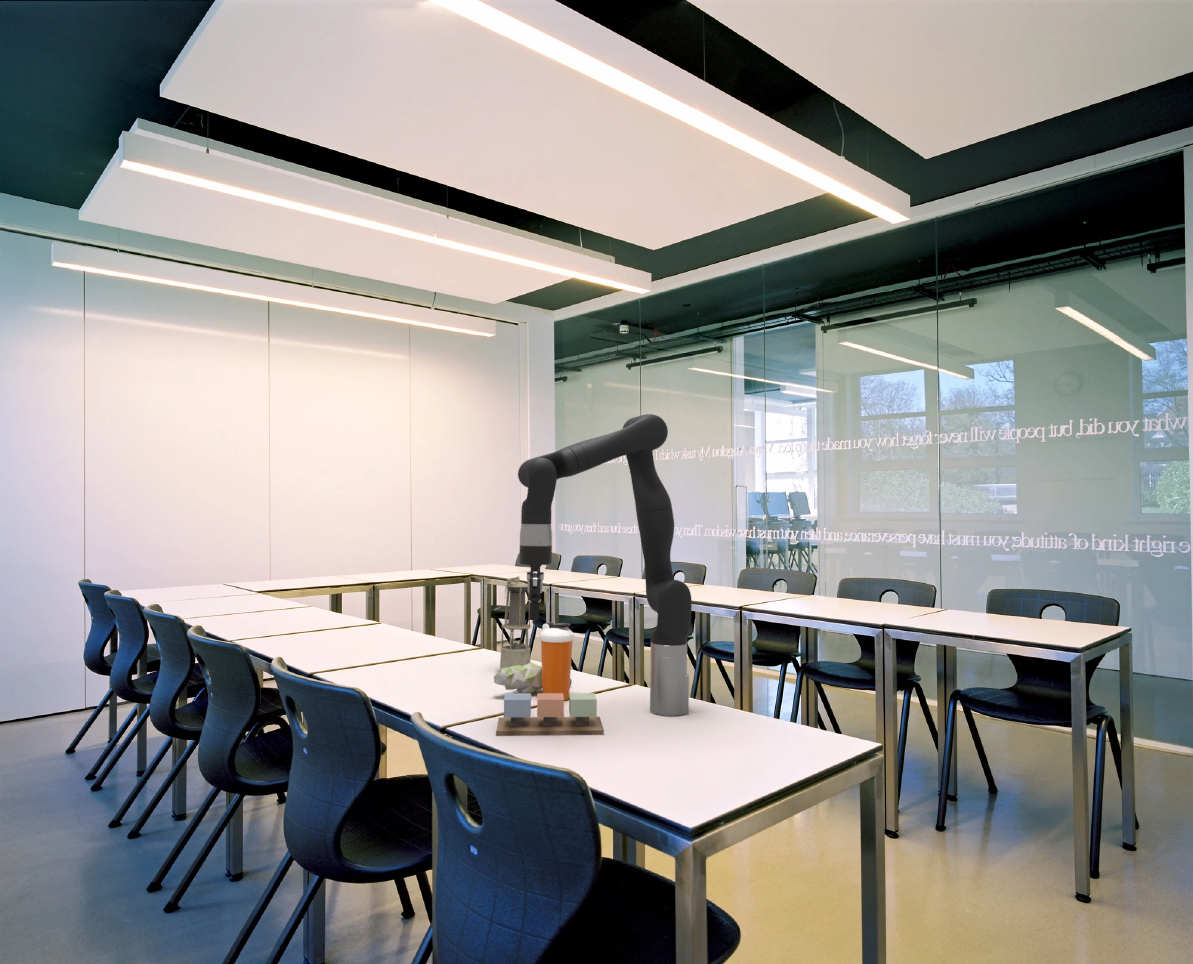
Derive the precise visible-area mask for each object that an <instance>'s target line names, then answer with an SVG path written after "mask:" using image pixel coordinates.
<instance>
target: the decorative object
mask: <svg viewBox="0 0 1193 964" xmlns="http://www.w3.org/2000/svg"><path fill="white" fill-rule="evenodd" d="M499 670H500V671H499ZM499 670H498V671H499V672H497V673H496V674H494V676H493V683H494V684H496V685H499V686H504V688H505V690H506V691H509V690H510V691H511V690H516V691H517V693H531V694H533V693H535V692H538V691H539V690H542V665H538V664H535V663H533V662H530V663H528V664H526V665H524V666H520V665H516V666H510V667H509V668H508V667H507V668H502V669H500V668H499ZM572 683H573V681H572V678H571V677H570V686H572Z"/></svg>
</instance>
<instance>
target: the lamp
mask: <svg viewBox="0 0 1193 964" xmlns="http://www.w3.org/2000/svg"><path fill="white" fill-rule="evenodd" d="M520 579H521V577H520V576H517V577H511V578H510V577H509V578H508V579H507V580H506V584H504V587H505V588H504V600H505V599H506V601H505V614H504V624H501V629H502V632H501V639H500V640H501V646H500V659H499V670H498V672H499V671H500V669H502V668H507V667H508V668H509V667H510V666H516V665H520V666H524V665H526V664H528V663H531V647H530V646H529V629H530V628H532V625H531V619H530V603H529V601H528V604H527V605H528V606H527V609H528V624H526V592H527V597H528V598H527V600H529V594H530V593H528V583H527V584H526V583H525V582H523V581H520ZM494 596H495V595H494ZM501 607H502V605H501V606H499V607H496V608H494V609H493V611H497V610H499V609H500V608H501ZM503 629H506V630H509V645H504V630H503ZM515 630H516V631H517V630H518V631H519V630H520V631H522V630H525V633H524V635H525V643H518V642H514V632H515ZM498 672H497V673H498Z"/></svg>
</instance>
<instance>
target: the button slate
mask: <svg viewBox="0 0 1193 964" xmlns="http://www.w3.org/2000/svg"><path fill="white" fill-rule="evenodd" d="M503 699H504V700H503V717H532V716H531V712H532V709H531V707H532V693H518V692H517V693H510V692H509V693H504V698H503Z"/></svg>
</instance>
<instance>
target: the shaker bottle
mask: <svg viewBox="0 0 1193 964" xmlns="http://www.w3.org/2000/svg"><path fill="white" fill-rule="evenodd" d="M570 626H571V624H570V623H567V622H559V623H555V622H553V621H550V622H546V623H544V624H543V625H542V628H541V629H542V631H541V632H540V637H539V638H540V639H539V640H540V648H541V649H540V650H541V651H540V652H541V653H540V654H541V667H542V689H541V690H542V693H563V697H564V702H565V701H568V700H569V693H570V689H571V688H570V687H571V685H570V678H571V669H572V668H571V667H572V655H573V654H572V653H573V652H572V651H573V642H574V633H573V631H572V630H571V629H570V628H569V627H570Z"/></svg>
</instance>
